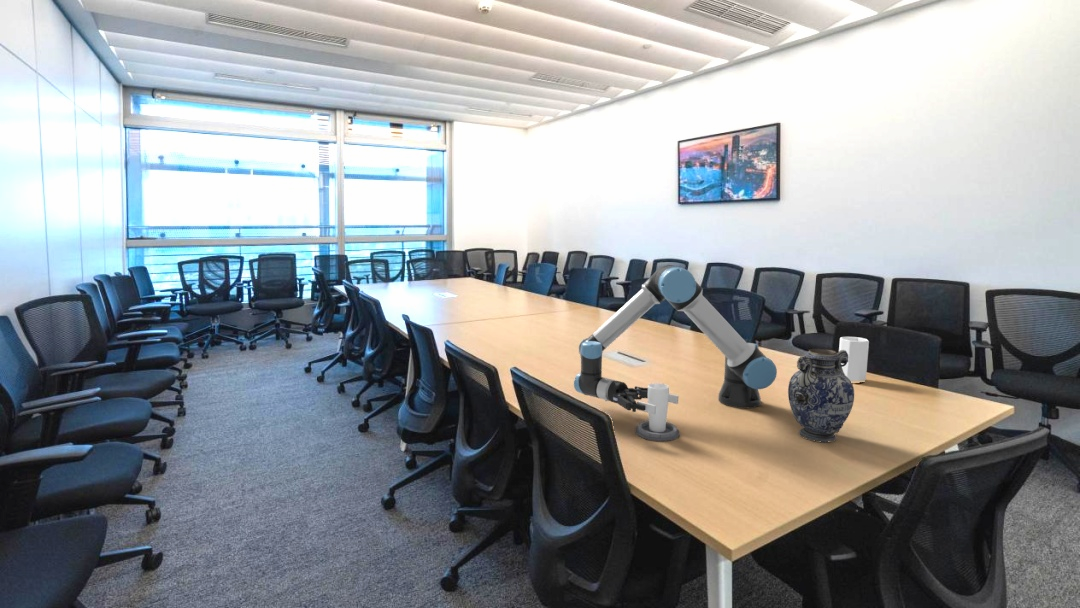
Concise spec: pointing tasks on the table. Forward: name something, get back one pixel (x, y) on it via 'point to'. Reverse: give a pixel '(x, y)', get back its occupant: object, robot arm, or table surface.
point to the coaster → (667, 435)
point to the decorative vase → (821, 394)
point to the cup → (855, 357)
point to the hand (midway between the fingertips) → (666, 404)
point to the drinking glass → (658, 406)
